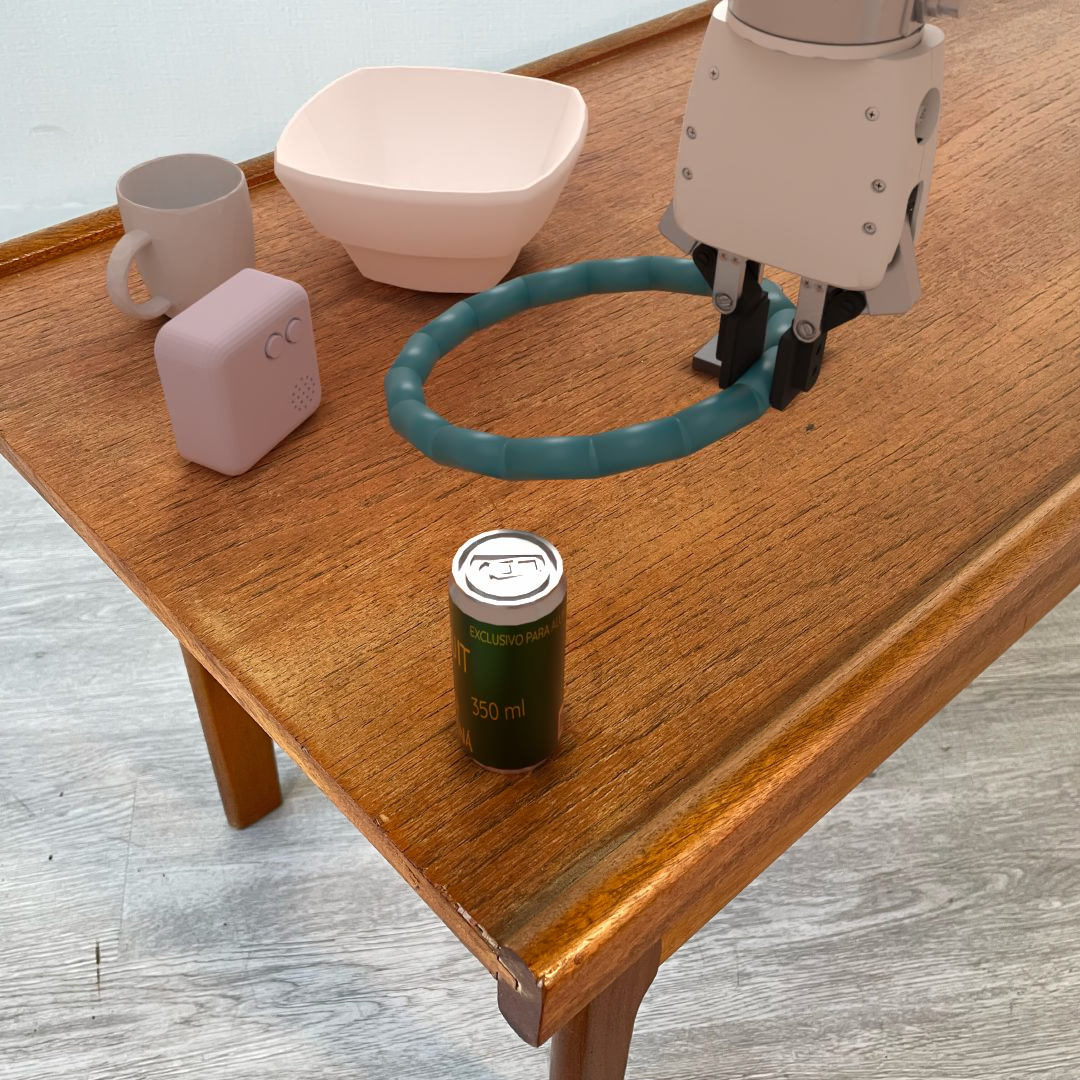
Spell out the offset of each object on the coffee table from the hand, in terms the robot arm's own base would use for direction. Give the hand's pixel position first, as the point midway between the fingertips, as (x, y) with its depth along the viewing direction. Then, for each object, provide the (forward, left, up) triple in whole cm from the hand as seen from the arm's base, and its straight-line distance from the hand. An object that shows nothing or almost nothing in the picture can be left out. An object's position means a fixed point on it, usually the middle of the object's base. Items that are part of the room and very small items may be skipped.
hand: (763, 383), depth 58 cm
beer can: (+5, +14, -16) cm, 22 cm away
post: (+10, -24, -16) cm, 30 cm away
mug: (+48, -5, -16) cm, 51 cm away
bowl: (+37, -22, -16) cm, 46 cm away
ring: (+10, 0, -2) cm, 10 cm away
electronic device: (+33, +3, -16) cm, 37 cm away
